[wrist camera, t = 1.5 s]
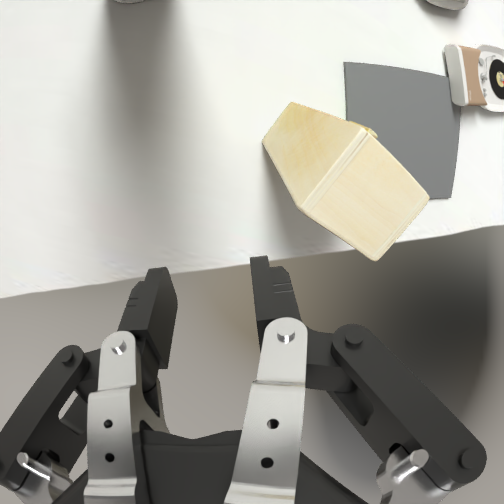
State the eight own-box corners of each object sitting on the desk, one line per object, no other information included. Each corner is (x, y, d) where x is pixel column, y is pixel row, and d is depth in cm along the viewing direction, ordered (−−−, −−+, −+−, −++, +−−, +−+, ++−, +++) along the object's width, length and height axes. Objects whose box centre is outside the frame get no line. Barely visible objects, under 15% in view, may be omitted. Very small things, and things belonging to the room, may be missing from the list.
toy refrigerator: (342, 132, 35) (438, 192, 17) (309, 174, 38) (374, 266, 20) (294, 95, 32) (367, 116, 14) (260, 141, 35) (292, 210, 18)
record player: (455, 37, 23) (522, 53, 22) (441, 37, 26) (510, 52, 25) (466, 114, 29) (528, 114, 28) (452, 110, 32) (516, 110, 31)
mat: (343, 62, 30) (345, 61, 29) (458, 80, 30) (460, 80, 29) (345, 202, 40) (346, 204, 40) (448, 196, 40) (450, 197, 40)
